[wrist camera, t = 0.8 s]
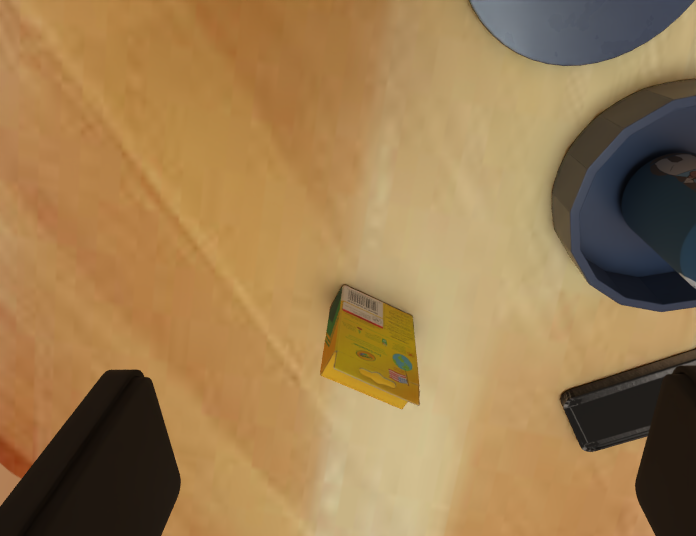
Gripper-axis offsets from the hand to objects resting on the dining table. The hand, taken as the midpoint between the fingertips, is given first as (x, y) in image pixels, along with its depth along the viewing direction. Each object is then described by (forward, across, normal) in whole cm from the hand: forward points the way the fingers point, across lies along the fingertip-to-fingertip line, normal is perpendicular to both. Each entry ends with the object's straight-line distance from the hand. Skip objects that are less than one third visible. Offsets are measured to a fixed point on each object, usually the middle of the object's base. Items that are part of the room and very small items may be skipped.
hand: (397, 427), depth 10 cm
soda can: (+33, -21, +7) cm, 40 cm away
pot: (+33, -21, +7) cm, 40 cm away
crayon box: (+34, +2, +18) cm, 38 cm away
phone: (+34, -24, +28) cm, 50 cm away
